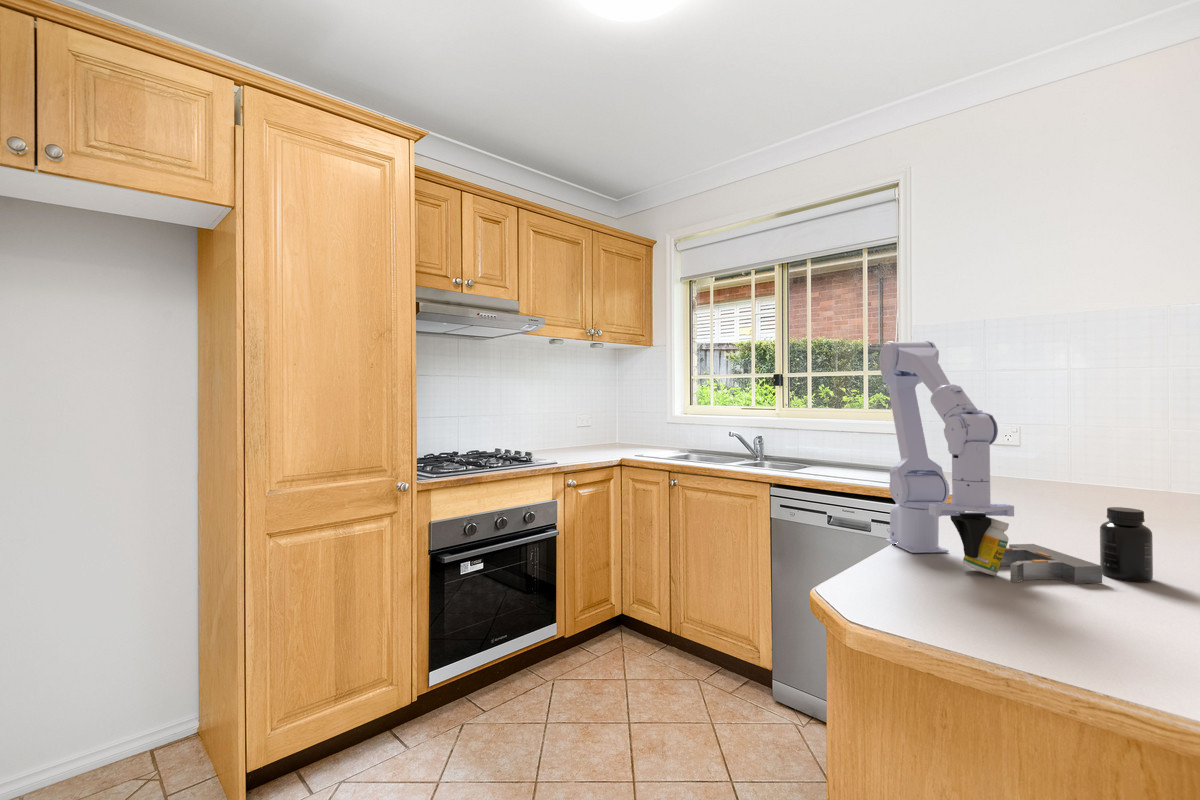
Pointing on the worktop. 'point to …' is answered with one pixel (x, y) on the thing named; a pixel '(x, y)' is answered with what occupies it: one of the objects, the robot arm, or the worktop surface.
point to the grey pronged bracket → (1048, 565)
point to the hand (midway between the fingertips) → (971, 556)
